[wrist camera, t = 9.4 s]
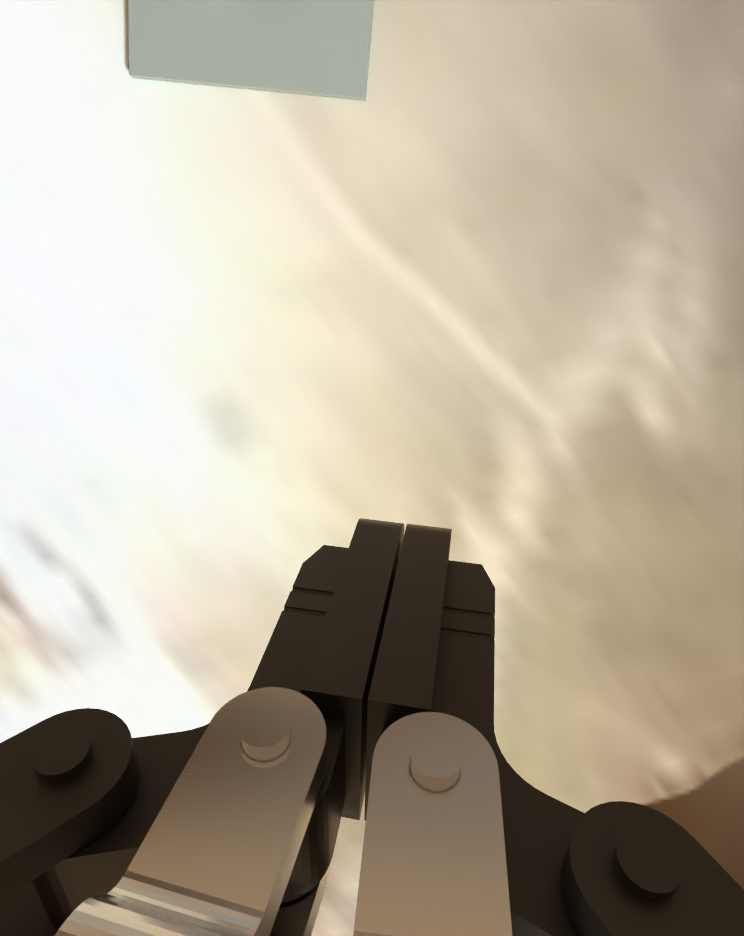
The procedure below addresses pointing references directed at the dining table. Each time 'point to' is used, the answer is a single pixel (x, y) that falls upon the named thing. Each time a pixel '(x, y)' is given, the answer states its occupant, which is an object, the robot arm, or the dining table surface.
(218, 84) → the domino board
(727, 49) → the dining table surface
